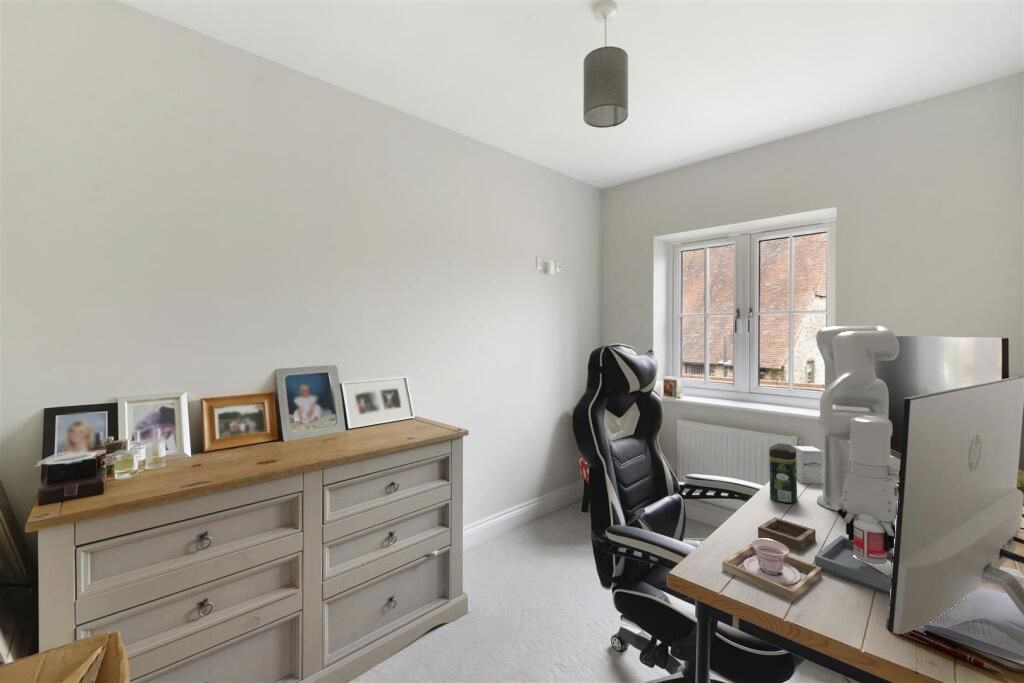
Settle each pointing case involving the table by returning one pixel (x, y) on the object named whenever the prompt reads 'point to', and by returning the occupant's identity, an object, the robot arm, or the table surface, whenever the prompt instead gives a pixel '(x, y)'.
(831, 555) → the slate tray
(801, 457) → the supplement box
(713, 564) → the table surface
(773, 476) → the coffee jar
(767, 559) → the teacup
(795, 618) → the table surface
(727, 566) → the light wooden frame
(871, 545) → the pill bottle
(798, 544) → the walnut collar
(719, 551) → the table surface
